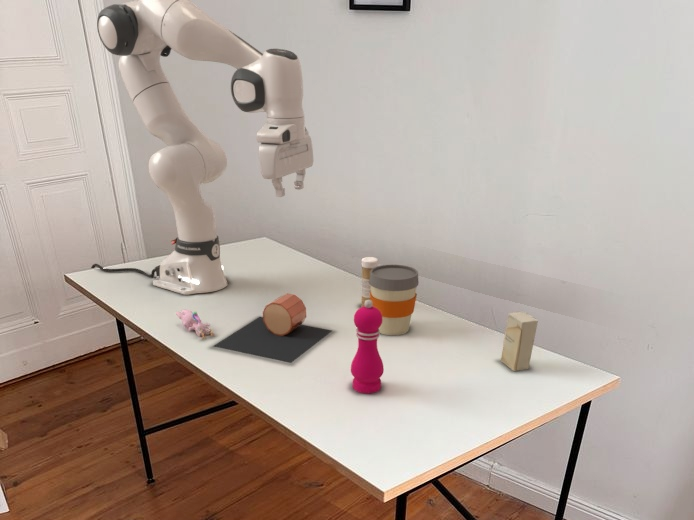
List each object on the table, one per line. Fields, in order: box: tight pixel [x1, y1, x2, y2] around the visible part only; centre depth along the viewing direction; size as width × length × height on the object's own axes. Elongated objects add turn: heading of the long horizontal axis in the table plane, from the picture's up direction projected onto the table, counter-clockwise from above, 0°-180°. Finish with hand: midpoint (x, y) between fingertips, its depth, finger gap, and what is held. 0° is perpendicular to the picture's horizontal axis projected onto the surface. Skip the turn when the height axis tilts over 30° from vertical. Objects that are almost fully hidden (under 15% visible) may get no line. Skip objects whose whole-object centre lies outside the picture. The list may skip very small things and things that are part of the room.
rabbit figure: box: [175, 309, 215, 340], centre depth 176 cm, size 6×6×15 cm
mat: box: [213, 316, 333, 364], centre depth 173 cm, size 22×22×1 cm
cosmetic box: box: [500, 310, 539, 372], centre depth 159 cm, size 6×4×12 cm
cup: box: [262, 293, 307, 336], centre depth 175 cm, size 8×8×8 cm
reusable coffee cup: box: [369, 264, 419, 336], centre depth 176 cm, size 13×12×15 cm
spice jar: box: [360, 256, 379, 307], centre depth 189 cm, size 5×5×13 cm
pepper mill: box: [350, 300, 385, 394], centre depth 146 cm, size 7×7×20 cm
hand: (290, 192), depth 169 cm, fingers open, 8 cm apart
